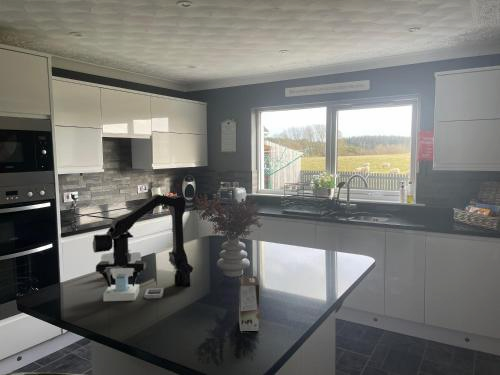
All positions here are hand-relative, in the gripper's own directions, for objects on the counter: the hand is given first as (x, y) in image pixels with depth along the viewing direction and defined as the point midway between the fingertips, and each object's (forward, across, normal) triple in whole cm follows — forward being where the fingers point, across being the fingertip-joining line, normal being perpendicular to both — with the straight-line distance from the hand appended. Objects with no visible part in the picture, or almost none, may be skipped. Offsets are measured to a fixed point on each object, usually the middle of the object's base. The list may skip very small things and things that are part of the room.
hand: (121, 286), depth 157 cm
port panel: (+4, 0, 0) cm, 4 cm away
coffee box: (+4, -49, +31) cm, 58 cm away
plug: (+4, 0, 0) cm, 4 cm away
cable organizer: (+4, +6, -26) cm, 27 cm away
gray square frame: (+4, -13, 0) cm, 14 cm away
